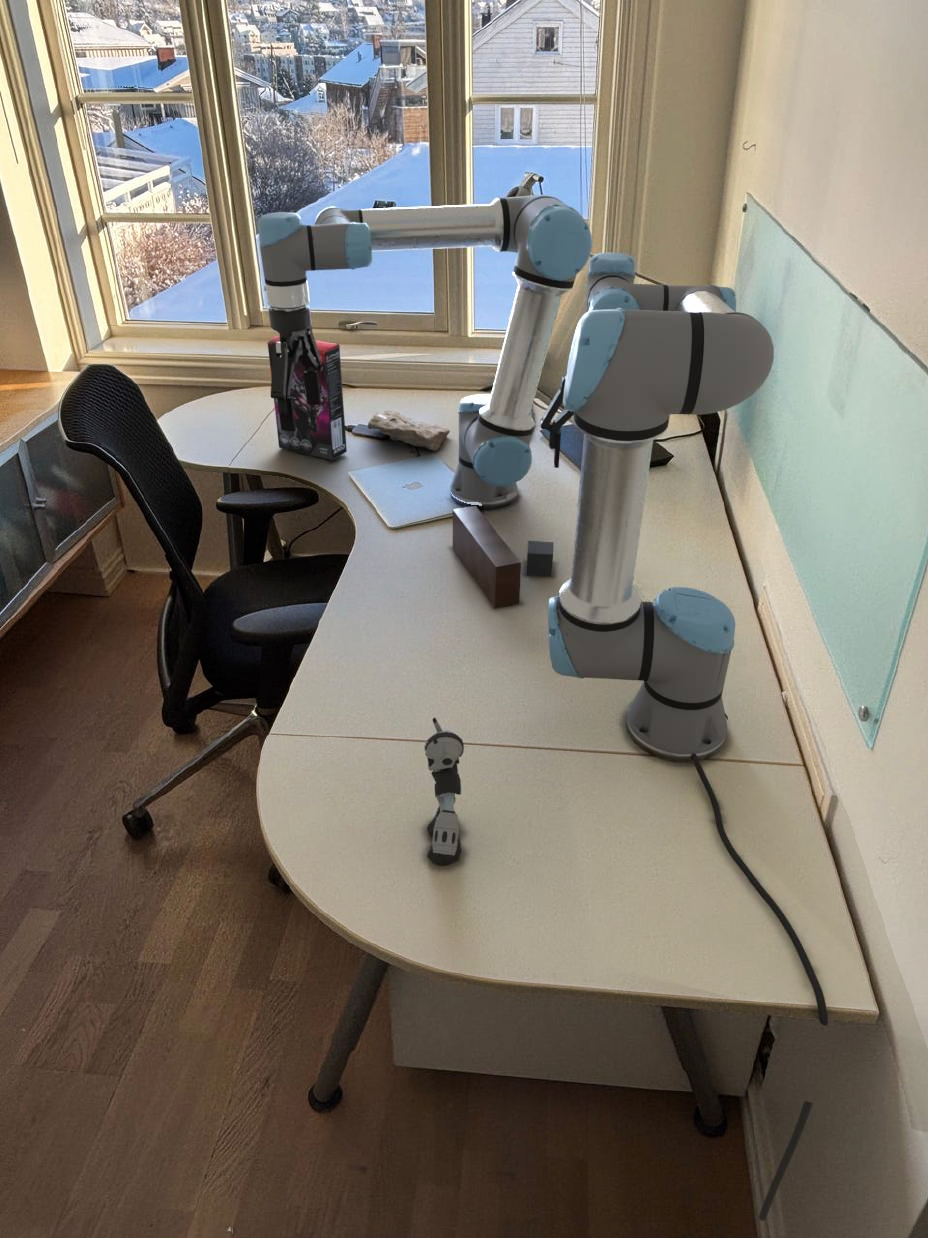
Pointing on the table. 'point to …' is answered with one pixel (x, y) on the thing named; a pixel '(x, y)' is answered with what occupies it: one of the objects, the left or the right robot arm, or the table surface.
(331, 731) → the table surface
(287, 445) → the graphics card box
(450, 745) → the robot
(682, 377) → the right robot arm
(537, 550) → the grey rubber block
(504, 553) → the walnut beam
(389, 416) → the stone
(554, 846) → the table surface
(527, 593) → the table surface
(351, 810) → the table surface
